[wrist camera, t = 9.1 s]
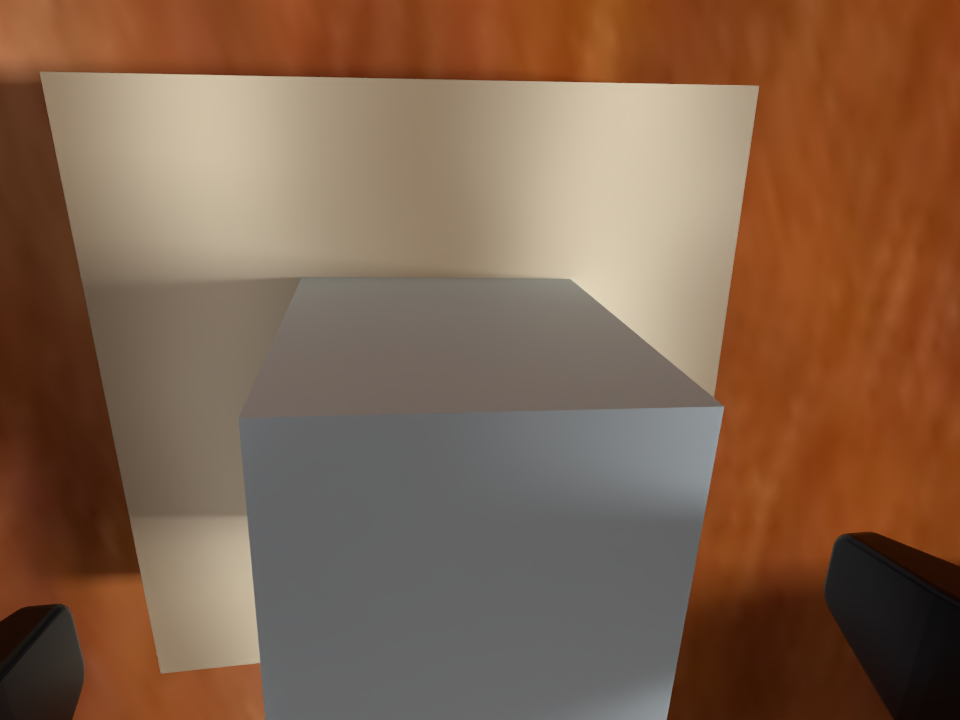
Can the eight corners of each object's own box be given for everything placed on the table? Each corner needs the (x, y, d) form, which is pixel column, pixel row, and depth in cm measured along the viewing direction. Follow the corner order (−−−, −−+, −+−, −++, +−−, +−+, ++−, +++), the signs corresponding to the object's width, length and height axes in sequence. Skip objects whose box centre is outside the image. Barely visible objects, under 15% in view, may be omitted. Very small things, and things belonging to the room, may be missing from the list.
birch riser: (203, 558, 18) (161, 673, 14) (127, 82, 14) (39, 71, 10) (623, 524, 20) (682, 617, 16) (667, 92, 16) (758, 85, 12)
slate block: (313, 515, 14) (272, 791, 8) (301, 276, 12) (237, 418, 6) (549, 504, 14) (660, 750, 9) (570, 278, 13) (724, 406, 7)
